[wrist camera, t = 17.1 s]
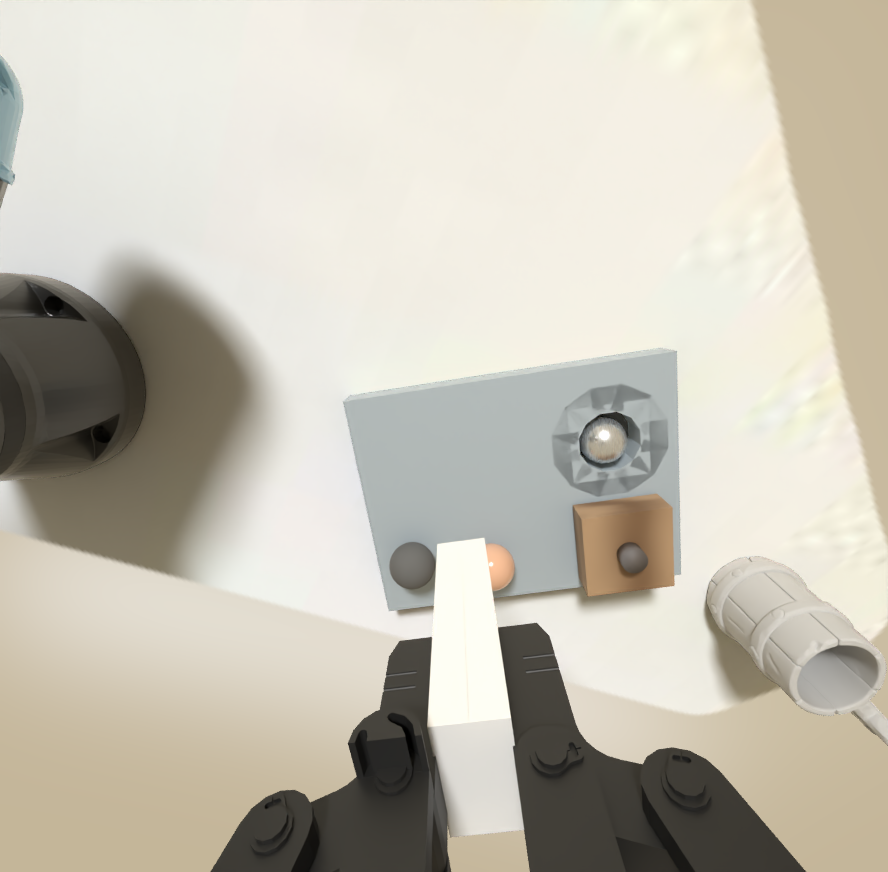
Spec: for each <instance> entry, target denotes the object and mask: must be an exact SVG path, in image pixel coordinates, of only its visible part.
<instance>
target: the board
mask: <svg viewBox="0 0 888 872" xmlns="http://www.w3.org/2000/svg"><path fill="white" fill-rule="evenodd" d="M343 403H344V407H345V412H346V417H347V421H348V426H349V430H350V435H351V440H352V444H353V449H354V453H355V458H356V462H357V467H358V472H359V476H360V481H361V485H362V490H363V495H364V499H365V504H366V508H367V513H368V517H369V522H370V527H371V531H372V536H373V540H374V545H375V550H376V554H377V559H378V563H379V568H380V572H381V577H382V582H383V586H384V591H385V595H386V600H387V605H388V609H389V611H394V610H402V609H410V608H418V607H426V606H434V596H435V578H436V560H437V544H441V543H449V542H456V541H464V540H471V539H479V538H484V539H485V544H488V543H494V544H499V545H501V546H503V547H504V548H506V549H507V550H508V551H509V552H510V554H511V555H512V557H513V560H514V563H515V573H514V576H513V578H512V580H511V582H510V583H509V584H508V585H507V586H506V587H504V588H503V589H500V590H496V591H492V593H493V598H498V597H506V596H513V595H521V594H529V593H537V592H545V591H553V590H561V589H569V588H577V587H583V585H582V583H581V581H580V579H579V573H578V562H577V550H576V539H575V527H574V516H573V505H576V504H584V503H591V502H598V501H606V500H613V499H621V498H628V497H635V496H643V495H650V494H658V495H659V496H660V497H662V498H663V499H664V500H665V501H666V502H667V503H668V504H669V505H670V506H672V507H673V547H674V575H680V574H681V549H680V496H679V444H678V391H677V351H674V350H669V349H664V348H658V349H651V350H644V351H638V352H631V353H625V354H618V355H612V356H605V357H599V358H592V359H586V360H579V361H572V362H566V363H559V364H553V365H546V366H540V367H533V368H527V369H520V370H514V371H507V372H500V373H494V374H487V375H481V376H474V377H468V378H461V379H455V380H448V381H441V382H435V383H428V384H422V385H415V386H409V387H402V388H396V389H389V390H383V391H376V392H369V393H363V394H356V395H350V396H349V397H348V398H347V399H346V400H345V401H343ZM612 412H618V413H621V414H622V415H623V416H624V418H625V419H626V420H627V422H628V442H627V447H626V450H625V452H624V453H623V454H622V456H621V457H619V458H618V459H617V460H615V461H613V462H610V463H597V462H594V461H592V460H590V459H587V458H585V457H582V456H581V455H580V446H579V438H580V436H581V434H582V432H583V429H584V427H585V425H586V424H587V423H588V422H590V421H591V420H593V419H594V418H595V417H597V416H598V415H599V414H605V413H612ZM408 542H418V543H421V544H423V545H425V546H426V547H427V548H428V549H429V550H430V551H431V553H432V554H433V556H434V560H435V571H434V574H433V576H432V578H431V580H430V581H429V582H428V583H427V584H426V585H425V586H423V587H421V588H418V589H406V588H403V587H401V586H399V585H398V584H397V583H396V582H395V581H394V580H393V578H392V576H391V574H390V569H389V564H390V559H391V556H392V554H393V553H394V551H395V550H396V549H397V548H398V547H399V546H401V545H402V544H405V543H408Z"/></svg>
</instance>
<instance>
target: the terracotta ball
mask: <svg viewBox="0 0 888 872" xmlns="http://www.w3.org/2000/svg"><path fill="white" fill-rule="evenodd" d="M485 545H486V552H487V559H488V566H489V572H490V579H491V586H492V591H496V590H500V589H503V588H504V587H506V586H507V585H508V584H509V583H510V582H511V580H512V578H513V576H514V573H515V563H514V560H513V557H512V555H511V554H510V552H509V551H508V550H507V549H506V548H504V547H503V546H501V545H499V544H494V543H488V544H485Z"/></svg>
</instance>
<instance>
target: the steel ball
mask: <svg viewBox="0 0 888 872" xmlns="http://www.w3.org/2000/svg"><path fill="white" fill-rule="evenodd" d="M627 442H628V438H627V434H626V431H625V429H624V428H623V426H622V425H621V424H620V423H619V422H617V421H616V420H614V419H611V418H606V417H600V418H595V419H593V420H591V421H590V422H588V423H587V424H586V425H585V427H584V429H583V432H582V434H581V436H580V438H579V446H580V449H581V451H582V452H583V454H584V455H585V456H586V457H587V458H588V459H590V460H592V461H594V462H597V463H610V462H613V461H615V460H617V459H618V458H619V457H621V456H622V454H623V453H624V452H625V450H626V447H627Z"/></svg>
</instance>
